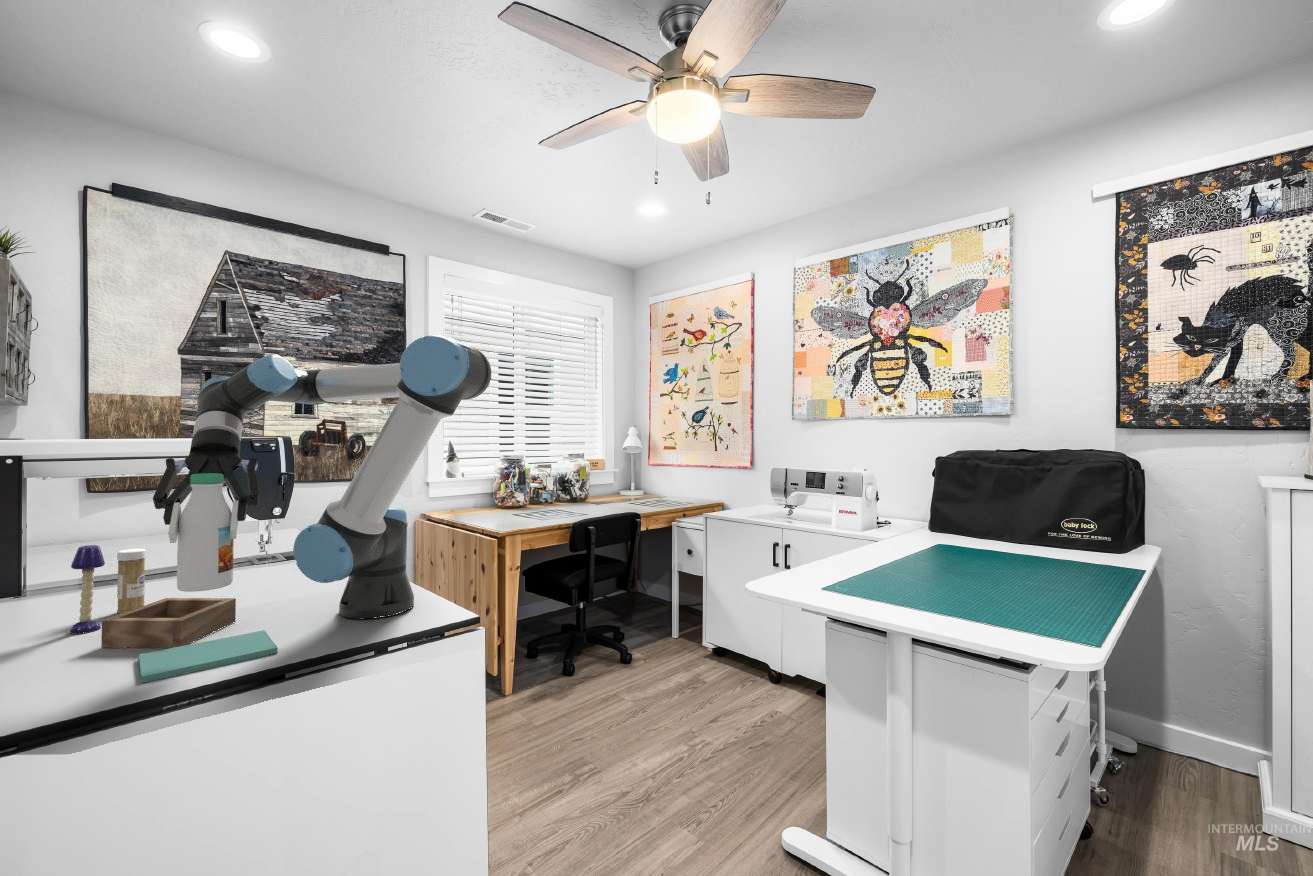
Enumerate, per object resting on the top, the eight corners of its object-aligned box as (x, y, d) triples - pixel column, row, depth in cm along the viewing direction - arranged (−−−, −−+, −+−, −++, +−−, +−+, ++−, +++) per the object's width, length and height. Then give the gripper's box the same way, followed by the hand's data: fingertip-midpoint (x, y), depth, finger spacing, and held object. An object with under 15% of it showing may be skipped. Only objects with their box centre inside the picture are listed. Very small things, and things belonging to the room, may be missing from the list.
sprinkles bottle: (140, 613, 121) (140, 551, 121) (112, 615, 119) (113, 552, 119) (148, 607, 125) (149, 547, 125) (122, 609, 123) (122, 548, 123)
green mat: (264, 635, 109) (264, 630, 109) (277, 653, 100) (277, 647, 100) (138, 660, 96) (138, 654, 96) (141, 682, 88) (141, 676, 88)
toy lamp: (107, 625, 113) (108, 543, 113) (98, 632, 109) (99, 547, 109) (75, 628, 111) (76, 545, 111) (64, 636, 107) (65, 549, 107)
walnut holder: (235, 622, 116) (235, 598, 116) (181, 647, 102) (181, 620, 102) (165, 622, 115) (166, 598, 115) (101, 647, 101) (101, 620, 101)
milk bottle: (201, 594, 94) (203, 476, 94) (164, 591, 95) (166, 474, 95) (243, 582, 101) (245, 473, 101) (209, 579, 103) (210, 471, 103)
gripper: (279, 453, 117) (275, 543, 103) (150, 453, 106) (126, 554, 92) (279, 427, 112) (274, 519, 99) (144, 425, 101) (118, 527, 88)
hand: (203, 536), depth 96 cm, fingers closed on milk bottle, 7 cm apart
